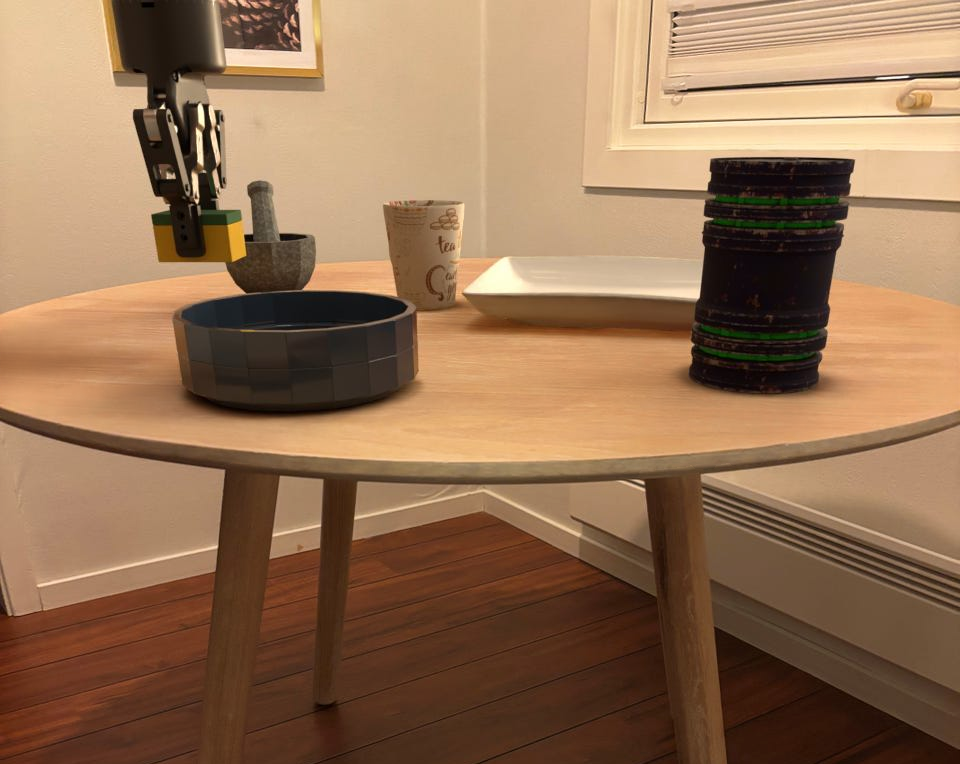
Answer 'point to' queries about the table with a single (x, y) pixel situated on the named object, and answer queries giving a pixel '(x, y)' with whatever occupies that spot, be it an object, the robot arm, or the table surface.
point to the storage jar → (768, 271)
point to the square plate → (591, 291)
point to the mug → (425, 250)
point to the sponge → (218, 233)
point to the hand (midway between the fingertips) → (201, 251)
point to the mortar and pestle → (272, 250)
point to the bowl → (297, 348)
